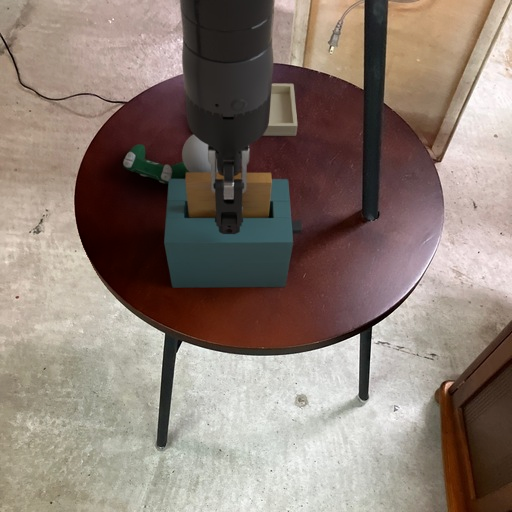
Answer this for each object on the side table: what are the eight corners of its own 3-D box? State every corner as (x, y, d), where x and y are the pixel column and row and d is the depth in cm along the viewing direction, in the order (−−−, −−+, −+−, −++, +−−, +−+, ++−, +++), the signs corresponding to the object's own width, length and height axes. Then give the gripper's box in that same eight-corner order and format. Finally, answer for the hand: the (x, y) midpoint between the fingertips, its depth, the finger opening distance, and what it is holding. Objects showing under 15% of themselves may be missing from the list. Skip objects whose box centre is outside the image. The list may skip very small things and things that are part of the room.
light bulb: (236, 195, 76) (237, 144, 68) (198, 213, 74) (194, 162, 66) (215, 167, 79) (213, 115, 70) (178, 184, 77) (171, 131, 68)
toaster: (172, 287, 68) (164, 242, 59) (175, 228, 73) (168, 178, 64) (298, 287, 69) (307, 242, 60) (293, 228, 73) (301, 179, 65)
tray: (201, 135, 82) (200, 125, 80) (202, 93, 87) (202, 82, 85) (296, 136, 83) (297, 125, 81) (292, 94, 87) (293, 83, 86)
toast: (190, 234, 65) (185, 182, 57) (191, 225, 66) (185, 172, 58) (266, 234, 65) (272, 182, 57) (266, 224, 66) (271, 172, 58)
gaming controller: (133, 168, 80) (112, 169, 74) (139, 142, 79) (119, 142, 74) (190, 188, 79) (174, 190, 73) (197, 162, 78) (181, 163, 72)
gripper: (187, 28, 51) (196, 151, 64) (180, 141, 43) (192, 253, 57) (268, 29, 51) (261, 151, 65) (275, 142, 43) (265, 253, 57)
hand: (229, 199), depth 61 cm, fingers open, 8 cm apart
